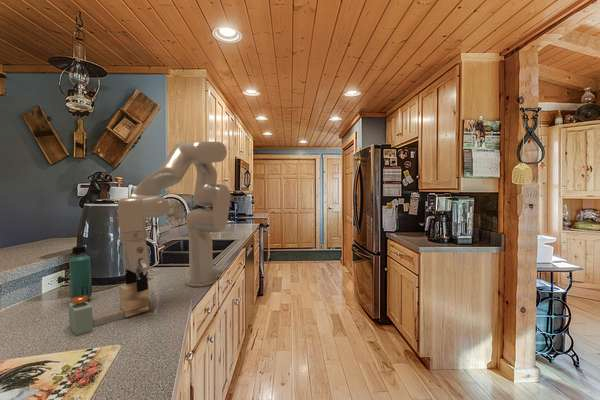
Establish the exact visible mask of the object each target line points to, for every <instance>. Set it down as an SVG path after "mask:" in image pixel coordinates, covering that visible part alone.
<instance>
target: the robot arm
mask: <svg viewBox="0 0 600 400" xmlns="http://www.w3.org/2000/svg"><path fill="white" fill-rule="evenodd" d="M227 154H228V153H227V147H226V145H225V144H224V143H223V142H221V141H205V140H204V141H202V140H201V141H200V140H199V141H198V140H196V141H183V142H182V141H181V142H178V143H177V144H176V145H174V146H173V148H172V150H170V152H169V154H168V155H167V156H166V158H165V160H164V162H163V163H162V164H161V166H160V167H159V169H157V170H156V171H154V172H152V174H150V175H149V176H147V177H145V178H144V179H143V180H142V181H141V182H140V183H139V184H137V186H136V187H135V188H134V190H133V191H132V192H131V194H130V196H129V197H123V198H120V199H119V200H118V201H117V214H118V215H117V216H118V217H117V218H118V229H119V242H120V243H122V262H123V263H122V264H123V267H124V275H125V277H124V278H125V285H127V284H131V283H135V282H136V284H137V292H141V291H144V290H147V289H148V287H149V282H148V281H149V280H148V278H149V276H148V274H149V272H148V270H149V269H150V258H149V257H150V256H149V250H148V246H147V241H146V240H147V225H146V219H149V218H161V217H163V216H165V215H166V214H167V213H168V212H169V209H170V203H169V201H168V200H167V198H166V197H164V196H161V195H156V194H158V193H159V192H161V191H163V190H165V189H168V188H170V187H173V186H175V185H177V184H179V183H180V182H181V181H182V180H183V178H184V176H185V174H186V173H187V171H188V170H189V168H190V166H191V165H192V164H193V165H194V167H195V169H196V181H195V185H194V191H193V203H195V204H196V205H197V206H200V207H212V208H211V209H210V208H195V209H191V210H190V211H188V213H187V215H186V216H185V225H186V228H187V233H188V259H189V260H188V263H189V264H188V265H189V277H188V278H187V279H186V280H185V284H186V286H188V287H195V288H196V287H197V288H198V287H207V286H210V285H213V284H215V283H216V282H217V277H216V276H217V275H222V274H223V269H218V270H217V269H213V267H214V264H213V263H214V261H213V257H214V256H213V239H212V236H211V234H210V233H221V232H223V231H224V230H225V229H226V228H227V225H228V219H229V212H230V206H231V192H230V189H229V187H228V186H227V185H225V184H222V183H221V184H219V183H218V184H217V180H218V172H217V170H216V168H215V166H214V165H213V163H221V162H223V161H225V159H226V157H227Z"/></svg>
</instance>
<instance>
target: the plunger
mask: <svg viewBox="0 0 600 400" xmlns="http://www.w3.org/2000/svg"><path fill="white" fill-rule="evenodd" d="M88 300H89V298H87V296H86V295H83V296H77V297H74V298H72V300H71V303H72V304H75V308H77V307H81V306H85V302H88Z"/></svg>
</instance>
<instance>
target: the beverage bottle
mask: <svg viewBox="0 0 600 400" xmlns="http://www.w3.org/2000/svg"><path fill="white" fill-rule="evenodd" d="M71 250H72V252H71V253H72V254H78V255H73V256H71V258H70V259H69V260H68V262H69V263H68V264H69V265H68V266H69V294H70V300H71V301H72V298H74V297H77V296H83V295H86V296H87V299H90V298H91V297H92V295H93V286H92V266H91V257H90V256H89V255H87V254H83V253H87V251H88V250H87V246H86V245H77V246H73V247H72V249H71Z"/></svg>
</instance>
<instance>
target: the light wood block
mask: <svg viewBox="0 0 600 400" xmlns="http://www.w3.org/2000/svg"><path fill="white" fill-rule="evenodd" d="M118 288H119V289H118V290H119V309H123V310H124V311H125V318H129V317H132V316H135V315H139V314H141V313H144V312H149V306H148V305H149V299H150V297H149V296H150V293H149V291H150V290H149V286H148V289H147V290H144V291H141V292H137V284H136V282H135V283H131V284H123V285H119V287H118Z"/></svg>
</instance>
